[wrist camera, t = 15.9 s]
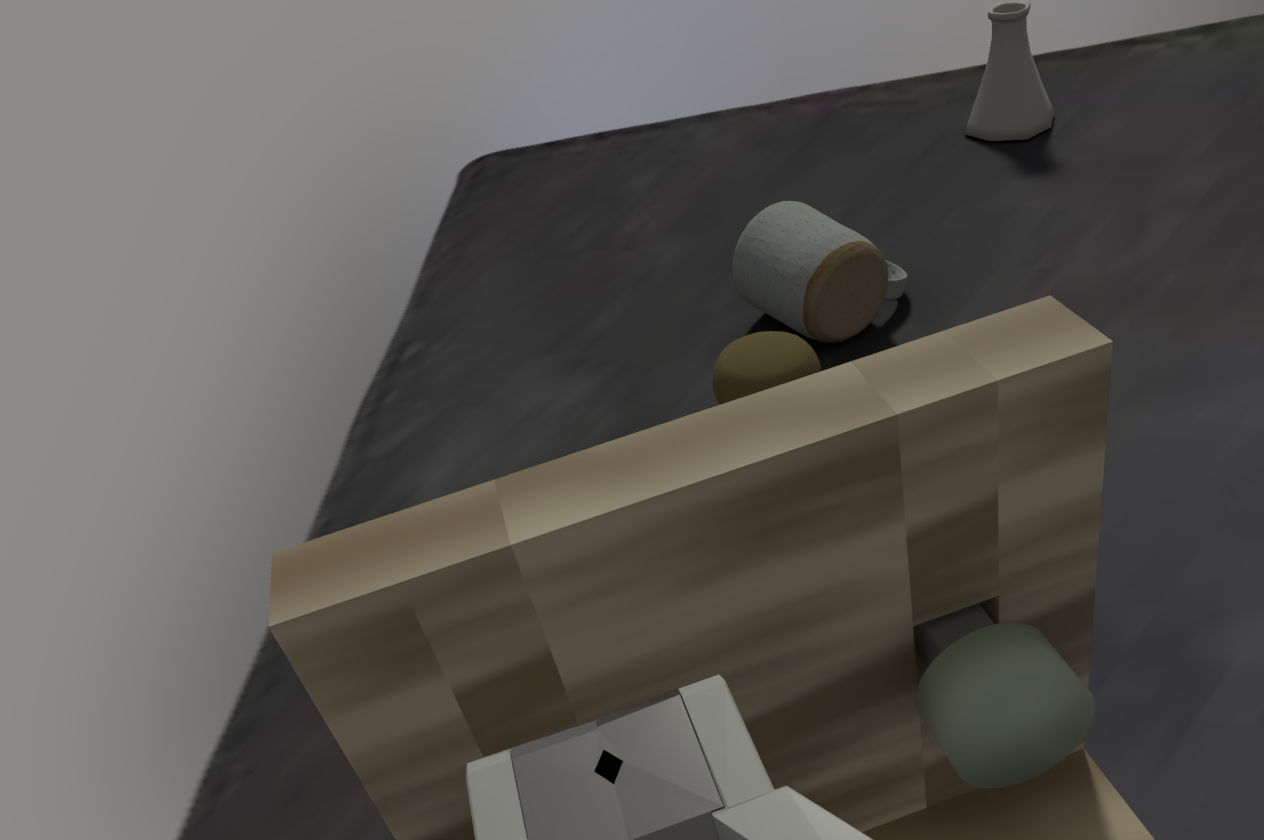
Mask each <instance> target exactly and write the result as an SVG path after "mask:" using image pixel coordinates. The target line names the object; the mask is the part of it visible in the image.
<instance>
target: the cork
mask: <svg viewBox="0 0 1264 840" xmlns="http://www.w3.org/2000/svg"><path fill="white" fill-rule="evenodd" d="M818 372H821V366H820V362H819V360H818V357H817V355H816V353H815V352H814V350H813V349H812V347H811V346H810V345H809V344H808V343H807V342H806V341H805V340H803V339H802V338H800V337H798V336H797V335H794V334H790V333H787V332H778V331H765V332H757V333H753V334H750V335H746V336H744V337H742V338H740V339H738V340H736V341H734V342H732V343H731V344H729V345H728V346H727V347H726V348H724V349H723V351H722V352H721V354H720V356H719V357H718V359H717V361H716V363H715V365H714V374H713V389H714V393H715V396H716V398H717V400H718V402H719V404H720V405H721V404H724V403H727V402H730V401H733V400H736V399H739V398H742V397H745V396H748V395H752V394H755V393H758V392H761V391H764V390H767V389H770V388H773V387H776V386H779V385H782V384H785V383H788V382H791V381H794V380H797V379H800V378H803V377H806V376H809V375H812V374H815V373H818Z"/></svg>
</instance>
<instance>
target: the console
mask: <svg viewBox="0 0 1264 840" xmlns="http://www.w3.org/2000/svg"><path fill="white" fill-rule="evenodd" d="M1112 346H1113V341H1111V340H1110V339H1109V338H1107V337H1106V336H1105V335H1103V334H1102V333H1101V332H1099V331H1098V330H1097V329H1095V328H1094V327H1092V326H1091V325H1090V324H1088V323H1087V322H1086V321H1084V320H1083V319H1082V318H1080V317H1079V316H1077V315H1076V314H1075V313H1073V312H1072V311H1071V310H1069V309H1068V308H1067V307H1065V306H1064V305H1062V304H1061V303H1060V302H1058V301H1057V300H1056V299H1054V298H1053V297H1052V296H1047V297H1044V298H1041V299H1038V300H1035V301H1032V302H1029V303H1026V304H1023V305H1020V306H1017V307H1014V308H1011V309H1008V310H1005V311H1002V312H999V313H996V314H993V315H990V316H987V317H984V318H981V319H978V320H975V321H972V322H969V323H966V324H963V325H960V326H957V327H954V328H951V329H948V330H945V331H942V332H939V333H936V334H933V335H930V336H927V337H924V338H921V339H917V340H914V341H911V342H908V343H905V344H902V345H899V346H896V347H893V348H890V349H887V350H884V351H881V352H878V353H875V354H872V355H869V356H866V357H863V358H860V359H857V360H854V361H851V362H848V363H845V364H842V365H839V366H836V367H833V368H830V369H827V370H824V371H821V372H818V373H815V374H812V375H809V376H806V377H803V378H800V379H797V380H794V381H791V382H788V383H785V384H782V385H779V386H776V387H773V388H770V389H767V390H764V391H761V392H758V393H755V394H752V395H748V396H745V397H742V398H739V399H736V400H733V401H730V402H727V403H724V404H721V405H718V406H715V407H712V408H709V409H706V410H703V411H700V412H697V413H694V414H691V415H688V416H685V417H682V418H679V419H676V420H673V421H670V422H667V423H664V424H661V425H658V426H655V427H652V428H649V429H646V430H643V431H640V432H637V433H634V434H631V435H628V436H625V437H622V438H619V439H616V440H613V441H610V442H607V443H604V444H601V445H598V446H595V447H592V448H589V449H586V450H583V451H580V452H576V453H573V454H570V455H567V456H564V457H561V458H558V459H555V460H552V461H549V462H546V463H543V464H540V465H537V466H534V467H531V468H528V469H525V470H522V471H519V472H516V473H513V474H510V475H507V476H504V477H501V478H498V479H495V480H492V481H489V482H486V483H483V484H480V485H477V486H474V487H471V488H468V489H465V490H462V491H459V492H456V493H453V494H450V495H447V496H444V497H441V498H438V499H435V500H432V501H429V502H426V503H423V504H420V505H417V506H414V507H411V508H407V509H404V510H401V511H398V512H395V513H392V514H389V515H386V516H383V517H380V518H377V519H374V520H371V521H368V522H365V523H362V524H359V525H356V526H353V527H350V528H347V529H344V530H341V531H338V532H335V533H332V534H329V535H326V536H323V537H320V538H317V539H314V540H311V541H308V542H305V543H302V544H299V545H296V546H293V547H290V548H287V549H284V550H281V551H278V552H275V553H272V565H271V586H270V607H269V628H270V630H271V632H272V633H273V635H274V637H275V638H276V640H277V642H278V643H279V645H280V647H281V648H282V650H283V652H284V653H285V655H286V657H287V658H288V660H289V662H290V663H291V665H292V667H293V668H294V670H295V672H296V673H297V675H298V677H299V678H300V680H301V682H302V684H303V685H304V687H305V689H306V690H307V692H308V694H309V695H310V697H311V699H312V700H313V702H314V704H315V705H316V707H317V709H318V710H319V712H320V714H321V715H322V717H323V719H324V720H325V722H326V724H327V725H328V727H329V729H330V730H331V732H332V734H333V735H334V737H335V739H336V740H337V742H338V744H339V745H340V747H341V749H342V750H343V752H344V754H345V755H346V757H347V759H348V760H349V762H350V764H351V765H352V767H353V769H354V771H355V772H356V774H357V776H358V777H359V779H360V781H361V782H362V784H363V786H364V787H365V789H366V791H367V792H368V794H369V796H370V797H371V799H372V801H373V802H374V804H375V806H376V807H377V809H378V811H379V812H380V814H381V816H382V817H383V819H384V821H385V822H386V824H387V826H388V827H389V829H390V831H391V832H392V834H393V836H394V837H395V839H396V840H475V835H474V828H473V821H472V815H471V808H470V801H469V795H468V788H467V782H466V770H467V763H470V762H473V761H476V760H478V759H481V758H484V757H487V756H490V755H493V754H496V753H499V752H502V751H505V750H508V749H511V748H513V747H516V746H519V745H522V744H525V743H528V742H531V741H534V740H537V739H540V738H543V737H547V736H550V735H553V734H556V733H559V732H562V731H565V730H568V729H571V728H574V727H577V726H580V725H583V724H586V723H589V722H592V721H595V719H596V718H599V717H601V716H604V715H607V714H610V713H612V712H615V711H618V710H620V709H623V708H626V707H628V706H631V705H634V704H636V703H639V702H642V701H645V700H647V699H650V698H653V697H655V696H658V695H661V694H663V693H666V692H669V691H671V690H674V689H677V691H678V690H679V688H682V687H685V686H688V685H691V684H694V683H696V682H699V681H702V680H705V679H708V678H710V677H713V676H716V675H720V676H721V677H722V678H723V679H724V680H725V681H726V684H727V686H728V688H729V690H730V693H731V695H732V697H733V699H734V701H735V704H736V706H737V708H738V710H739V712H740V715H741V717H742V719H743V721H744V724H745V726H746V728H747V730H748V732H749V735H750V737H751V739H752V741H753V744H754V746H755V748H756V750H757V752H758V755H759V757H760V759H761V761H762V764H763V766H764V768H765V770H766V772H767V775H768V777H769V779H770V781H771V784H772V786H773V788H774V790H775V789H778V788H781V787H785V786H788V787H790V788H791V789H793V790H795V791H796V792H798V793H799V794H801V795H803V796H804V797H806V798H807V799H809V800H811V801H812V802H814V803H815V804H817V805H819V806H820V807H822V808H823V809H825V810H827V811H828V812H830V813H831V814H833V815H835V816H836V817H838V818H839V819H841V820H843V821H844V822H846V823H847V824H849V825H851V826H852V827H854V828H855V829H857V830H859V831H860V832H862V833H863V834H865V835H867V836H868V837H870V838H871V839H873V840H1154V838H1153V837H1152V836H1151V835H1150V833H1149V832H1148V831H1147V829H1146V828H1145V827H1144V826H1143V824H1142V823H1141V822H1140V820H1139V819H1138V818H1137V817H1136V815H1135V814H1134V813H1133V811H1132V810H1131V809H1130V808H1129V806H1128V805H1127V804H1126V802H1125V801H1124V800H1123V798H1122V797H1121V796H1120V795H1119V793H1118V792H1117V791H1116V789H1115V788H1114V787H1113V786H1112V784H1111V783H1110V782H1109V780H1108V779H1107V778H1106V777H1105V775H1104V774H1103V773H1102V771H1101V770H1100V769H1099V768H1098V766H1097V765H1096V764H1095V762H1094V761H1093V760H1092V759H1091V757H1090V756H1089V755H1088V753H1087V752H1086V751H1085V750H1084V738H1085V736H1084V738H1083V739H1082V740H1081V742H1080V743H1079V744H1078V745H1077V746H1076V747H1075V749H1074V750H1073V751H1072V752H1071V753H1070V754H1068V755H1067V756H1066V757H1065V758H1064V759H1063V760H1061V761H1060V762H1059V763H1058V764H1056V765H1055V766H1053V767H1052V768H1050V769H1049V770H1047V771H1045V772H1044V773H1042V774H1040V775H1038V776H1036V777H1034V778H1032V779H1030V780H1027V781H1025V782H1022V783H1019V784H1016V785H1012V786H1008V787H1002V788H992V789H989V788H979V787H975V786H972V785H970V784H968V783H966V782H965V781H963V780H962V779H961V778H960V776H959V775H958V774H957V772H956V770H955V769H954V767H953V766H952V764H951V763H950V761H949V759H948V758H947V756H946V755H945V753H944V752H943V750H942V748H941V747H940V745H939V744H938V742H937V741H936V739H935V737H934V736H933V734H932V733H931V731H930V729H929V728H928V726H927V725H926V723H925V722H924V720H923V718H922V717H921V715H920V714H919V712H918V709H917V706H916V693H917V688H918V685H919V682H920V680H921V678H922V676H923V674H924V673H925V671H926V670H927V666H926V665H925V663H924V662H923V660H922V659H921V657H920V656H919V654H918V653H917V652H916V650H915V646H914V633H913V626H915V625H918V624H921V623H924V622H927V621H929V620H932V619H935V618H938V617H941V616H943V615H946V614H949V613H952V612H954V611H957V610H960V609H963V608H966V607H968V606H971V605H974V604H977V603H979V605H980V606H981V607H982V608H983V610H984V611H985V612H986V614H987V615H988V616H989V617H990V619H991V620H992V621H993V622H994V624H999V623H1007V622H1017V623H1024V624H1027V625H1031V626H1033V627H1035V628H1036V629H1038V630H1039V631H1040V632H1041V633H1042V634H1043V635H1044V636H1045V638H1046V639H1047V640H1048V641H1049V642H1050V644H1051V645H1052V646H1053V647H1054V648H1055V650H1056V651H1057V652H1058V653H1059V654H1060V656H1061V657H1062V658H1063V659H1064V660H1065V662H1066V663H1067V664H1068V665H1069V666H1070V668H1071V669H1072V670H1073V671H1074V672H1075V674H1076V675H1077V676H1078V677H1079V679H1080V680H1081V681H1082V682H1083V683H1084V685H1085V686H1086V687H1087V688H1088V682H1089V668H1090V654H1091V640H1092V626H1093V612H1094V598H1095V584H1096V570H1097V556H1098V542H1099V528H1100V514H1101V500H1102V486H1103V472H1104V458H1105V444H1106V430H1107V416H1108V402H1109V388H1110V374H1111V360H1112Z"/></svg>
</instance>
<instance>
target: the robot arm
mask: <svg viewBox="0 0 1264 840" xmlns="http://www.w3.org/2000/svg"><path fill="white" fill-rule="evenodd" d="M466 782H467V788H468V795H469V801H470V808H471V815H472V821H473V828H474V835H475V840H873V839H871V838H870V837H868V836H867V835H865V834H863V833H862V832H860V831H859V830H857V829H855V828H854V827H852V826H851V825H849V824H847V823H846V822H844V821H843V820H841V819H839V818H838V817H836V816H835V815H833V814H831V813H830V812H828V811H827V810H825V809H823V808H822V807H820V806H819V805H817V804H815V803H814V802H812V801H811V800H809V799H807V798H806V797H804V796H803V795H801V794H799V793H798V792H796V791H795V790H793V789H791V788H790V787H788V786H785V787H781V788H778V789H775V790H774V788H773V786H772V784H771V781H770V779H769V777H768V775H767V772H766V770H765V768H764V766H763V764H762V761H761V759H760V757H759V755H758V752H757V750H756V748H755V746H754V744H753V741H752V739H751V737H750V735H749V732H748V730H747V728H746V726H745V724H744V721H743V719H742V717H741V715H740V712H739V710H738V708H737V706H736V704H735V701H734V699H733V697H732V695H731V693H730V690H729V688H728V686H727V684H726V681H725V680H724V679H723V678H722V677H721V676H720V675H716V676H713V677H710V678H708V679H705V680H702V681H699V682H696V683H694V684H691V685H688V686H685V687H682V688H679V690H678V691H677V689H674V690H671V691H669V692H666V693H663V694H661V695H658V696H655V697H653V698H650V699H647V700H645V701H642V702H639V703H636V704H634V705H631V706H628V707H626V708H623V709H620V710H618V711H615V712H612V713H610V714H607V715H604V716H601V717H599V718H596V719H595V721H592V722H589V723H586V724H583V725H580V726H577V727H574V728H571V729H568V730H565V731H562V732H559V733H556V734H553V735H550V736H547V737H543V738H540V739H537V740H534V741H531V742H528V743H525V744H522V745H519V746H516V747H513V748H511V749H508V750H505V751H502V752H499V753H496V754H493V755H490V756H487V757H484V758H481V759H478V760H476V761H473V762H470V763H467V770H466Z"/></svg>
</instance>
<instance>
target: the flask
mask: <svg viewBox="0 0 1264 840" xmlns="http://www.w3.org/2000/svg"><path fill="white" fill-rule="evenodd" d="M1029 9H1030V3H1029V2H1021V1H1013V2H1002V3H1000V4H997V5H995V6H993V7H990V9H989V12H988V18H989V19H990V20H992V41H991V47H990V52H989V58H988V62H987V66H986V69H985V72H984V75H983V79H982V82H981V85H980V88H979V92H978V95H977V98H976V101H975V103H974V106H973V109H972V112H971V115H970V118H969V121H968V124H967V127H966V130H965V134H966V135H969V136H973V137H977V138H980V139H984V140H988V141H1005V140H1026V139H1029V138H1031V137H1033V136H1035V135H1037V134H1039V133H1041V132H1043V131H1045V130H1046V129H1048V128H1050V127H1052V121H1053V116H1054V112H1053V109H1052V106H1051V103H1050V101H1049V99H1048V96H1047V94H1046V91H1045V89H1044V86H1043V84H1042V81H1041V79H1040V76H1039V73H1038V71H1037V68H1036V65H1035V62H1034V60H1033V57H1032V54H1031V51H1030V46H1029V41H1028V35H1027V29H1026V16H1027V15H1028V13H1029Z"/></svg>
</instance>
